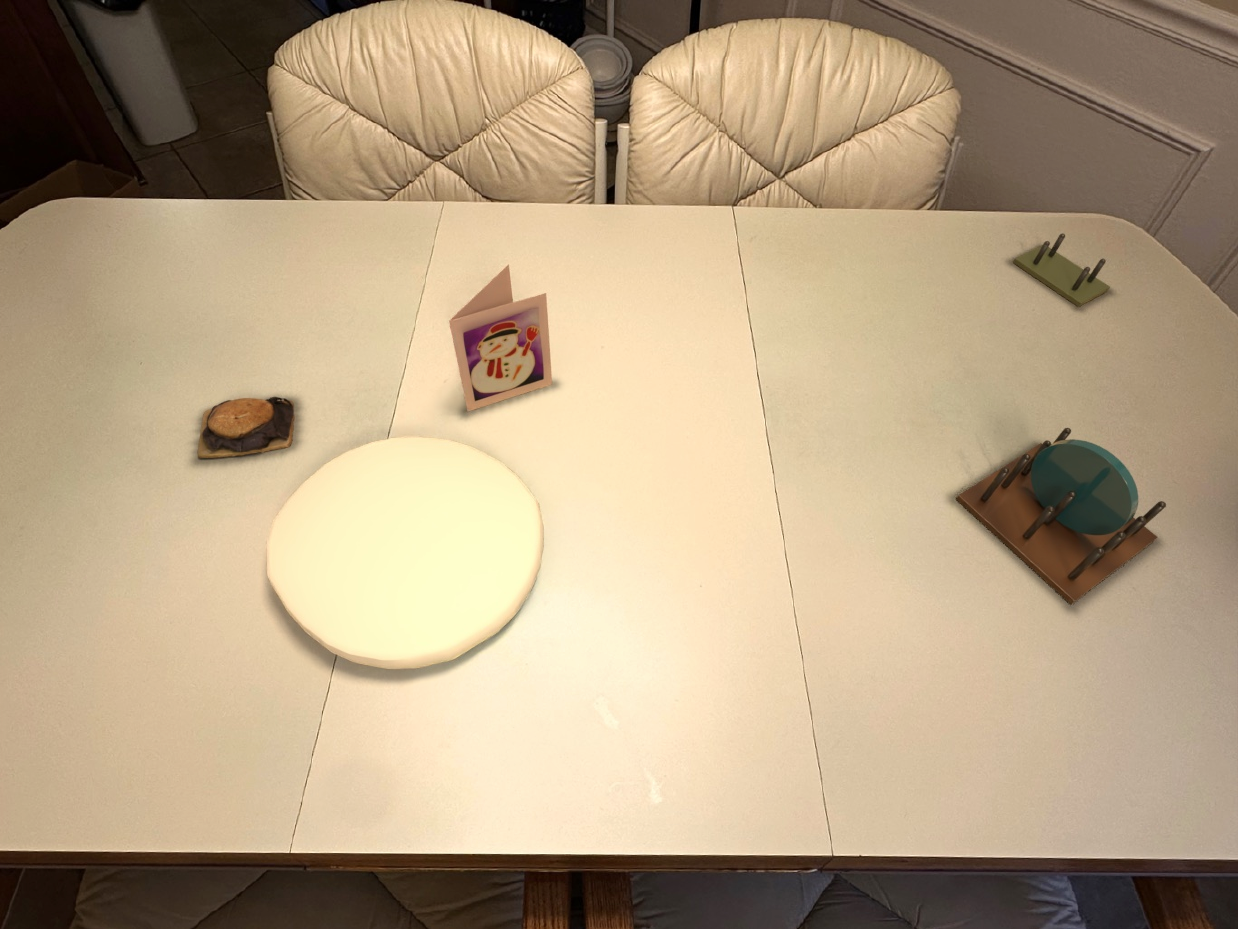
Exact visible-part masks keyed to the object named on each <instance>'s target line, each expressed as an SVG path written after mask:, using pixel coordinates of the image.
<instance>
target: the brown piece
mask: <svg viewBox="0 0 1238 929" xmlns="http://www.w3.org/2000/svg"><path fill="white" fill-rule="evenodd" d="M294 408H295V404H294V402H293V401H292V400H289V399H287V398H283V397H279V396H272V397H271V396H270V397H269V398H267V399H262V398H255V397H254V398H253V397H252V398H251V397H243V398H235V399H227V400H224V401H222V402H220V403H218V404H216V405H214V406H212V408H209V409H207V410H205V411H204V412H203V415H202V422H201V427H200V435H199V440H198V446H197V453H196V454H197V457H198V459H205V458H206V459H211V458H213V459H214V458H223V457H224V458H228V457H237V456H241V457H243V456H245V455H252V454H257V453H261V454H264V453H265V452H268V451H273V450H282V449H285V448H289V447H291V445H292V442H293V441H294V440H293V436H294V434H293V433H294V429H295V426H294V421H295V414H294V413H295V412H294Z"/></svg>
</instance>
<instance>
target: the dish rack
mask: <svg viewBox="0 0 1238 929" xmlns="http://www.w3.org/2000/svg"><path fill="white" fill-rule="evenodd" d="M1071 433H1072V429H1071V427H1065V428H1063V430H1062V431H1061V432H1060V433H1059V435H1058V436H1057V437H1056V438H1055V440H1054V441H1053V442H1051V440H1048V439H1047V440H1044V441H1043V442H1041V443H1039V444H1037V445H1036V446H1034V447H1033V448H1031V449H1029V450H1028V451H1026V452H1024V453H1023V454H1021V455H1020V456H1018V457H1017V458H1015V459H1013V460H1012V461H1010V462H1008V463H1007V464H1005V465H1003V467H1000V468H999V469H997V470H996V471H994V472H993V473H991V474H989V475H988V476H987V477H985V478H983V479H982V480H980V481H979V482H977V483H976V484H974V485H972V486H971V487H968V489H966V490H964V491H962V492H961V493H960V494H958V495H957V496H956V498H955V500H956V501H957V502H959V504H961V505H962V506H963V507H964V508H965V509H966V510H967V511H969V513H970V514H971V515H973V517H975V518H976V519H977V520H978V521H979V522H980V523H981V524H982V525H983V526H984V527H986V529H988V530H989V531H990V532H991V533H992V534H993V535H994V536H996V538H997V539H999V540H1000V541H1001V542H1002V543H1003V544H1004V545H1005V546H1006V547H1007V548H1009V549H1010V550H1011V551H1012V552H1013V553H1014V554H1015V555H1016V556H1017V557H1018V558H1020V560H1021V561H1022V562H1024V563H1025V564H1026V565H1027V566H1028V567H1029V568H1030V569H1031V570H1033V571H1034V572H1035V573H1036V574H1037V575H1038V576H1039V577H1040V579H1042V580H1043V581H1044V582H1046V583H1047V585H1049V586H1050V588H1052V589H1053V590H1054V591H1056V593H1058V594H1059V595H1060V596H1061V597H1062V598H1063V599H1064V600H1066V601H1067V602H1068V603H1069V605H1072V604H1073V603H1075V602H1076V601H1077V600H1079V599H1081V597H1083V596H1084V595H1086V593H1088V592H1089V591H1091V590H1092V589H1093V588H1094V587H1095V586H1097V585H1098V584H1099V583H1101V582H1102V581H1104V580H1105V579H1106V578H1108V576H1110V575H1111V574H1112V573H1114V572H1115V571H1116V570H1118V569H1119V568H1121V567H1122V566H1123V565H1125V564H1126V563H1127V562H1128V561H1130V560H1131V559H1132V558H1133V557H1135V556H1136V555H1138V554H1140V552H1141V551H1143V550H1144V549H1146V548H1147V547H1148V546H1149V545H1150V544H1152V543H1153V542H1154V541H1155V540H1157V539H1158V536H1157V535H1156V534H1155V533H1154V532H1152V531H1151V530H1150V529H1148V528H1147V527H1146V525H1148V524H1149V523H1150V522H1151V521H1152V520H1153V519H1154V518H1155V517H1156V516H1158V514H1160V513H1161V512H1163V510H1164V509H1165V508H1166V507H1167V503H1166V502H1165V501H1163V500H1159V501H1158V502H1156V503H1155V505H1153V507H1151V508H1150V509H1149V510H1148V511H1147V512H1146V513H1144V514H1143V515H1139V516H1137V518H1135V517H1133V518H1132V519H1131V520H1130V522H1128V523H1127V524H1126V525H1125V526H1123V527H1122V528H1120V529H1119V530H1117V531H1115V532H1113V533H1110V534H1106V535H1088V534H1083V533H1080V532H1077V531H1074V530H1072V529H1070V528H1068V527H1066V526H1064V525H1063V524H1061V523H1060V522H1058V521H1057V520H1056V518H1057V517H1058V515H1059V514H1060V513H1061V512H1062V511H1063V510H1064V509H1065V508H1066V507H1067V506H1068V504H1069V503H1070V502H1071V501H1072V500H1073V499H1074V498H1075V497H1076V493H1075V492H1074V491H1070V492H1068V493H1067V495H1066V496H1065V497H1064V498H1063V499H1062V500H1061V501H1060V502H1059V504H1058V505H1057V506H1056V507H1055V508H1054V507H1053V506H1048V507H1047V508H1046V509H1044V508H1043V506H1042V505H1041V503H1040V502H1039V500H1038V499H1037V497H1036V495H1035V493H1034V490H1033V487H1032V483H1031V468H1032V464H1033V462H1034V459H1035V458H1036V456H1037V455H1038V454H1039V453H1040V452H1041V451H1042V450H1044V449H1045V448H1047V447H1048V446H1050V445H1051V444H1053V443H1055V442H1058V441H1062V440H1067V438H1068V437H1069V436H1070V434H1071Z"/></svg>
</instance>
